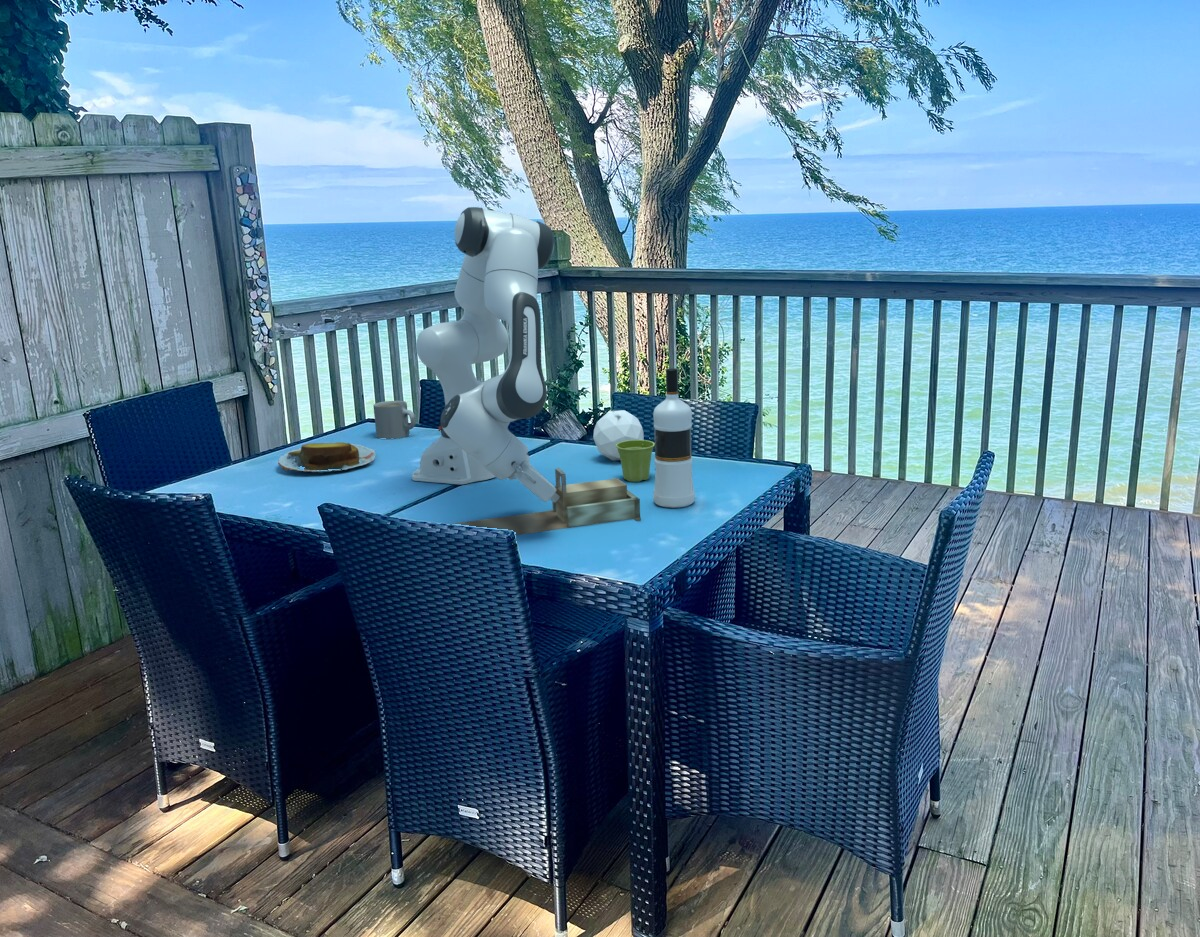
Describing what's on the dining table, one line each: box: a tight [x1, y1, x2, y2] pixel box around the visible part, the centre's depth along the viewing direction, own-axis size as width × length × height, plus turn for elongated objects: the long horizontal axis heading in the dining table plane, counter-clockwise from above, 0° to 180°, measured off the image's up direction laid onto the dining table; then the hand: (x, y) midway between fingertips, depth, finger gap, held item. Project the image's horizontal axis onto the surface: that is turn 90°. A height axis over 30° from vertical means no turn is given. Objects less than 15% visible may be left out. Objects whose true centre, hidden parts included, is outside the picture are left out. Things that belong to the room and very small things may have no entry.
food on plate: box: [277, 442, 376, 473], centre depth 251 cm, size 26×26×7 cm
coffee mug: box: [372, 400, 416, 440], centre depth 282 cm, size 13×10×10 cm
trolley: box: [554, 467, 628, 523], centre depth 196 cm, size 14×8×10 cm, turn 108°
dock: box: [453, 489, 642, 536], centre depth 194 cm, size 38×13×5 cm, turn 109°
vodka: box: [652, 367, 696, 509], centre depth 202 cm, size 9×9×30 cm
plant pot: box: [616, 439, 655, 483], centre depth 225 cm, size 9×9×9 cm
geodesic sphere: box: [592, 409, 645, 462], centre depth 243 cm, size 14×14×14 cm
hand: (555, 498), depth 194 cm, fingers closed, pressing on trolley
